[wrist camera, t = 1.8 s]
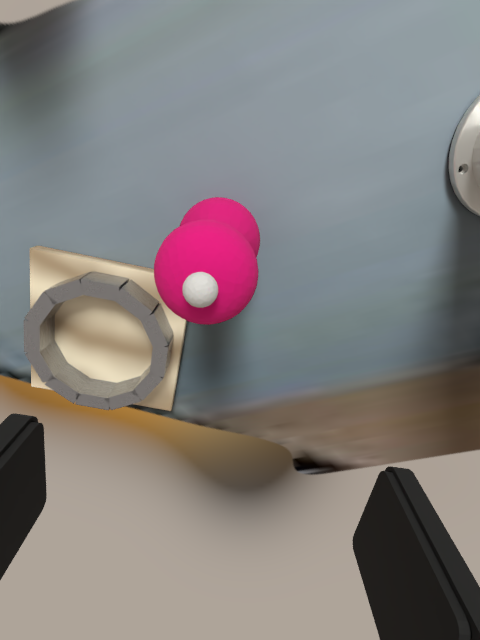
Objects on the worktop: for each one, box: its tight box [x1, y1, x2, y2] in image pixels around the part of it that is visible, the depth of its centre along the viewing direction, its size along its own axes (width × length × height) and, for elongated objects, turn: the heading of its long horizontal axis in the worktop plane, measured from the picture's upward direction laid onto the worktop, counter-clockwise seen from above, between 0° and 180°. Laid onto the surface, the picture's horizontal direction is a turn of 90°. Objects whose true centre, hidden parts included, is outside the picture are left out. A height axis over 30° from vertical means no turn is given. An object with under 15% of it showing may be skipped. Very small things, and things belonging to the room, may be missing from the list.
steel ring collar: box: [24, 271, 174, 410], centre depth 37 cm, size 14×14×3 cm
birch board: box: [30, 246, 187, 411], centre depth 39 cm, size 16×16×2 cm
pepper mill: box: [154, 197, 260, 325], centre depth 26 cm, size 7×7×20 cm
